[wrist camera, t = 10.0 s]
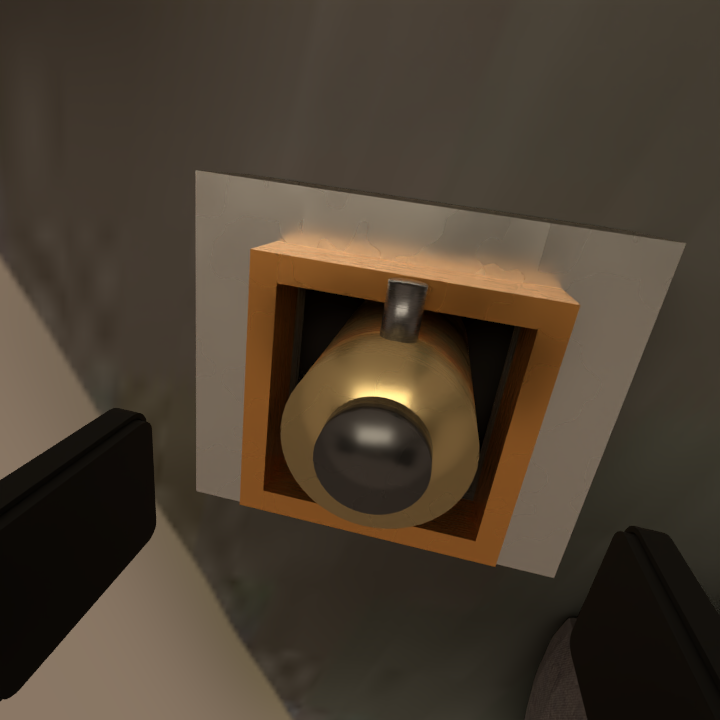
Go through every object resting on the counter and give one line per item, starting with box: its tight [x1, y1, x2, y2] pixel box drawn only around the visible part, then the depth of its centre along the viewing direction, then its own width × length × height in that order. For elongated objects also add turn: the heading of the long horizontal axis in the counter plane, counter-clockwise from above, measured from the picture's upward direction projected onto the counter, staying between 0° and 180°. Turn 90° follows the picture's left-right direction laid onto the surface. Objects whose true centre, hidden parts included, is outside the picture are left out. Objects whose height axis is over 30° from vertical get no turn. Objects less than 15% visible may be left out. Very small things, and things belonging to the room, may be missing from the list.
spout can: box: [281, 278, 479, 529], centre depth 14 cm, size 6×5×9 cm
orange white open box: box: [196, 170, 686, 578], centre depth 16 cm, size 14×12×6 cm
